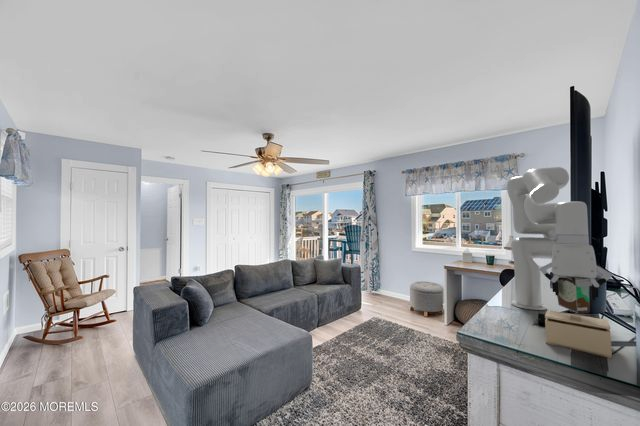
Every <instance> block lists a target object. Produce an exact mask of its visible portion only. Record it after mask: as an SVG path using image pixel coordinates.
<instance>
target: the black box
mask: <svg viewBox="0 0 640 426" xmlns="http://www.w3.org/2000/svg"><path fill="white" fill-rule="evenodd" d="M546 312H547V311H543V310H538V312H537V319H535V321H534V323H533V324H532V326H536V327H539V328H545V319H546V318H545V315H546Z"/></svg>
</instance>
